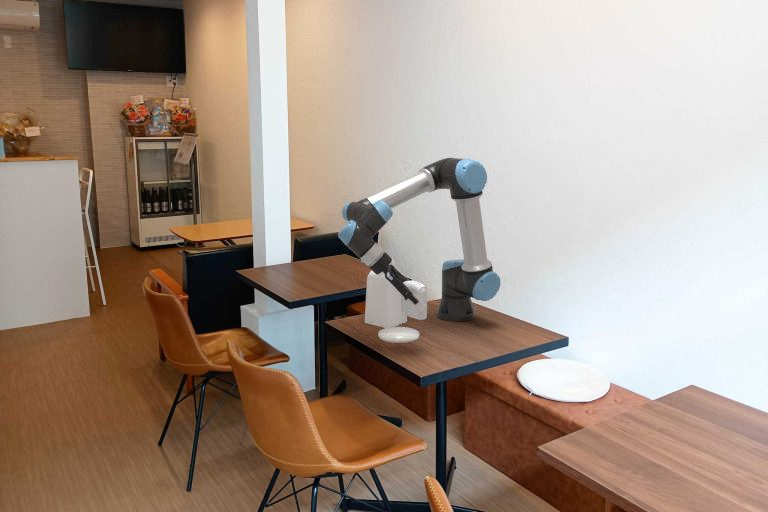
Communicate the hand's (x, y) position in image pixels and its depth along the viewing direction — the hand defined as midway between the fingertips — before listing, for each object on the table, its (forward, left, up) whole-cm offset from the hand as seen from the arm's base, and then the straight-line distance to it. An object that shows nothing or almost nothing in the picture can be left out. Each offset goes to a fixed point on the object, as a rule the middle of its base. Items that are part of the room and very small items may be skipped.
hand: (423, 305), depth 223 cm
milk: (+13, -31, -16) cm, 37 cm away
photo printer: (+3, 0, -4) cm, 5 cm away
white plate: (+8, -14, -16) cm, 23 cm away
